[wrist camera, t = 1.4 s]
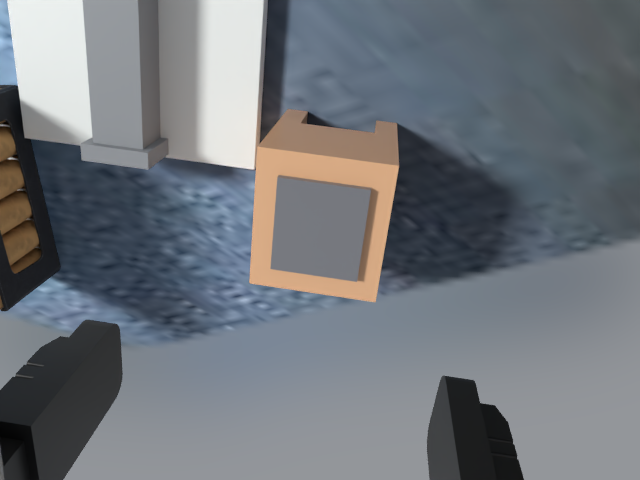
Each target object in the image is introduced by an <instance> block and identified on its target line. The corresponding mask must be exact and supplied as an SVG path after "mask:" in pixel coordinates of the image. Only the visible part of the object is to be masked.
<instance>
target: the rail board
mask: <svg viewBox="0 0 640 480" xmlns="http://www.w3.org/2000/svg"><path fill="white" fill-rule="evenodd" d="M7 2H8V10H9V18H10V25H11V33H12V41H13V49H14V57H15V65H16V73H17V81H18V89H19V97H20V105H21V113H22V121H23V129H24V137H25V138H28V139H36V140H43V141H50V142H57V143H65V144H72V145H79V146H80V147H81V159H82V160H83V161H90V162H97V163H104V164H111V165H118V166H125V167H133V168H140V169H147V170H149V169H150V168H151V167H153V166H154V165H155V164H156V163H158V162H159V161H160V160H162V159H163V158H164V157H166V158H173V159H180V160H188V161H195V162H202V163H209V164H216V165H224V166H231V167H238V168H245V169H253V170H254V169H255V168H256V162H257V146H258V145H259V144H260V128H261V111H262V94H263V78H264V61H265V44H266V27H267V11H268V0H7Z"/></svg>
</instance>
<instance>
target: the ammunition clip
mask: <svg viewBox="0 0 640 480" xmlns="http://www.w3.org/2000/svg"><path fill="white" fill-rule="evenodd" d="M60 267H61V266H60V262H59V258H58V254H57V249H56V245H55V241H54V237H53V232H52V228H51V224H50V220H49V216H48V211H47V207H46V203H45V199H44V195H43V190H42V186H41V182H40V178H39V174H38V169H37V165H36V161H35V157H34V153H33V148H32V144H31V140H30V139H28V138H25V137H24V129H23V121H22V113H21V105H20V97H19V90H18V87H17V86H15V85H0V309H1V311H8V310H9V309H10V308H11V307H13V306H14V305H15V304H16V303H18V302H19V301H20V300H21V299H23V298H24V297H25V296H26V295H28V294H29V293H30V292H32V291H33V290H34V289H36V288H37V287H38V286H40V285H41V284H42V283H43V282H45V281H46V280H47V279H49V278H50V277H51V276H53V275H54V274H55V273H56V272H58V271H59V269H60Z"/></svg>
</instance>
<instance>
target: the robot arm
mask: <svg viewBox="0 0 640 480" xmlns="http://www.w3.org/2000/svg"><path fill="white" fill-rule="evenodd" d="M121 382H122V357H121V339H120V329H119V326H118V325H117V324H113V323H106V322H100V321H94V320H85V321H83V322H82V323H81V325H80V326H79V327H78V328H77V329H76V330H75V331H74V332H73V333H72V335H71V336H70V337H69V338H68V337H61V336H60V337H59V338H57V339H55V340H53V341H51V342H50V343H48V344H46V345H44V346H43V347H41V348H40V349H39V350H38V351H37V352H36V353H35V354H34V355H33V356H32V357H31V358H30V359H29V360H28V362H27V365H24V366H23V367H22V368H21V369H20V370H19V371H18V372H17V373H16V376H15V377H12V378H11V379H10V381H9V382H8V383H7V384H6V385H5V386H4V387H3V388H2V389H1V390H0V480H63V479H64V478H65V476H66V474H67V473H68V471H69V470H70V468H71V467H72V465H73V464H74V462H75V461H76V459H77V458H78V456H79V455H80V453H81V451H82V450H83V448H84V447H85V445H86V444H87V442H88V441H89V439H90V438H91V436H92V435H93V433H94V431H95V430H96V428H97V427H98V425H99V424H100V422H101V421H102V419H103V418H104V416H105V414H106V413H107V411H108V410H109V408H110V407H111V405H112V403H113V402H114V400H115V399H116V397H117V395H118V393H119V390H120V386H121ZM427 454H428V465H429V477H430V480H524V479H523V475H522V471H521V468H520V464H519V461H518V460H517V453H516V450H515V446H514V444H513V439H512V435H511V432H510V428H509V425H508V422H507V421H506V419H505V418H504V417H503V416H502V414H501V413H500V412H499V410H498V409H497V408H496V406H494V405H488V404H481V403H480V401H479V397H478V393H477V388H476V384H475V381H473V380H468V379H462V378H455V377H449V376H442V378H441V380H440V384H439V387H438V392H437V395H436V399H435V404H434V407H433V412H432V416H431V419H430V423H429V429H428V437H427Z"/></svg>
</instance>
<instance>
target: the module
mask: <svg viewBox="0 0 640 480" xmlns="http://www.w3.org/2000/svg"><path fill="white" fill-rule="evenodd" d="M307 116H308V112H307V111H300V110H292V109H287V111H286V112H285V113H284V114H283V116H282V117H281V118H280V119H279V121H278V122H277V123H276V124H275V125H274V127H273V128H272V129H271V130H270V132H269V133H268V134H267V135H266V137H265V138H264V139H263V140H262V142H261V143H260V144H259V145H258V146H257V162H256V179H255V196H254V213H253V230H252V248H251V265H250V282H249V283H251V284H257V285H264V286H271V287H277V288H284V289H291V290H297V291H304V292H311V293H317V294H324V295H331V296H337V297H344V298H351V299H357V300H364V301H370V302H376V296H377V291H378V285H379V279H380V273H381V268H382V262H383V256H384V250H385V245H386V239H387V233H388V227H389V221H390V216H391V210H392V204H393V198H394V193H395V187H396V181H397V175H398V170H399V153H398V134H397V123H391V122H383V121H376V128H375V133H371V132H364V131H356V130H348V129H341V128H333V127H326V126H318V125H311V124H307Z"/></svg>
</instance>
